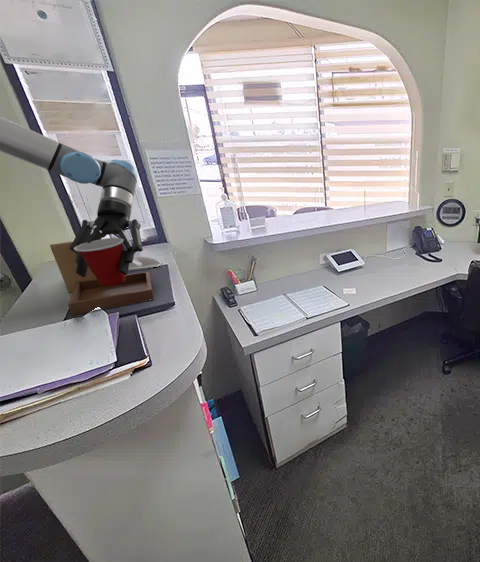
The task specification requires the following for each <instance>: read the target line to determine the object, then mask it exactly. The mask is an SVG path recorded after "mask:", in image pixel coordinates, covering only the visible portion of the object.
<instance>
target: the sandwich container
mask: <svg viewBox="0 0 480 562" xmlns="http://www.w3.org/2000/svg"><path fill="white" fill-rule="evenodd" d="M72 242H73V241H65V242H58V243H51V244H49V248H50V250H51V253H52V254H53V257H54V259H55V262H56V265H57V267H58V271H59V273H60V274H61V277H62V279H63V282H64V285H65V288H66V289H67V292H68V293H72V292H73V290H74V287H75V284H76V282H81V281H87V280H94V279H97V278H96V277H95V275H94V274H93V273H92V271H91V269H90V268H89V266H88V268H87V273H86V277H82V276H80V275H79V274H77V273H76V269H77V265H78V264H77V263H76V262H75V260H76V256H77V254H76V253H75V252H73V251H72V250H70V249H69V248H70V246H71V244H72Z"/></svg>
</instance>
